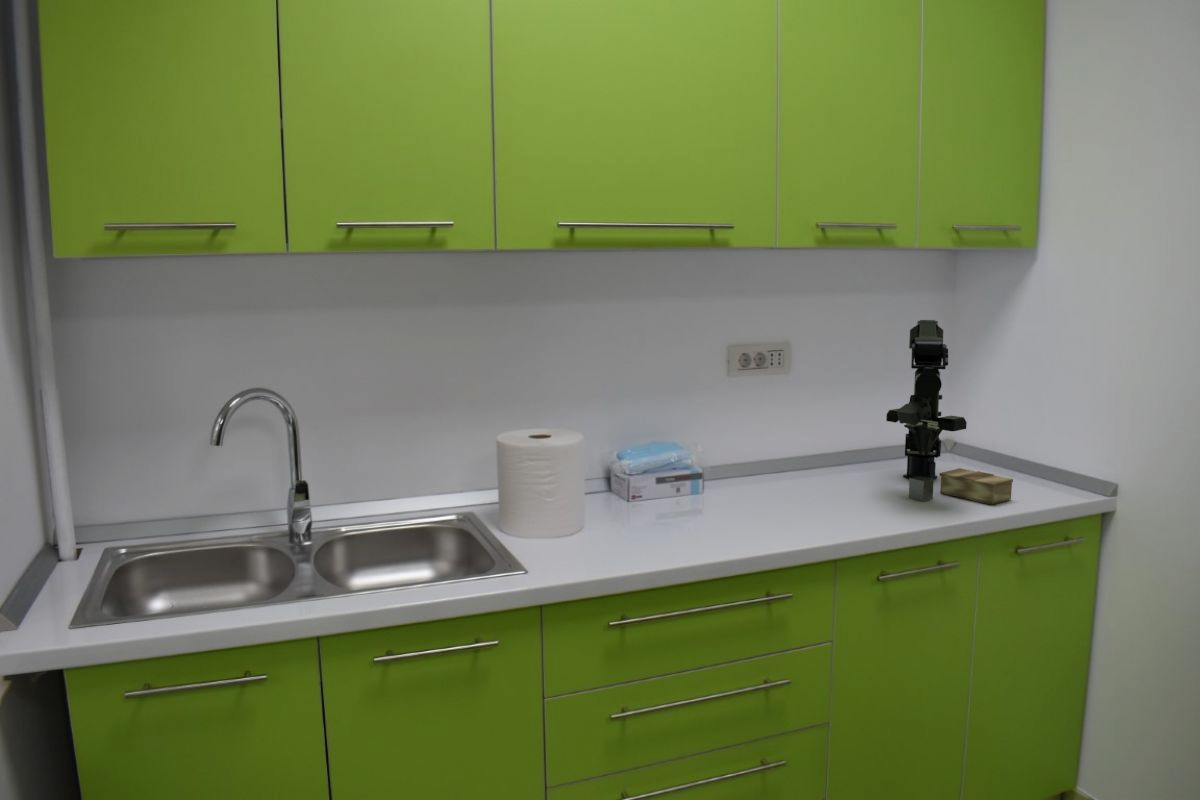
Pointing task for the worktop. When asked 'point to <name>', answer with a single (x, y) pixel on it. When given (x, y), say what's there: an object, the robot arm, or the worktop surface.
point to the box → (976, 491)
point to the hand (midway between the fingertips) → (923, 454)
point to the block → (921, 488)
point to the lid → (976, 477)
